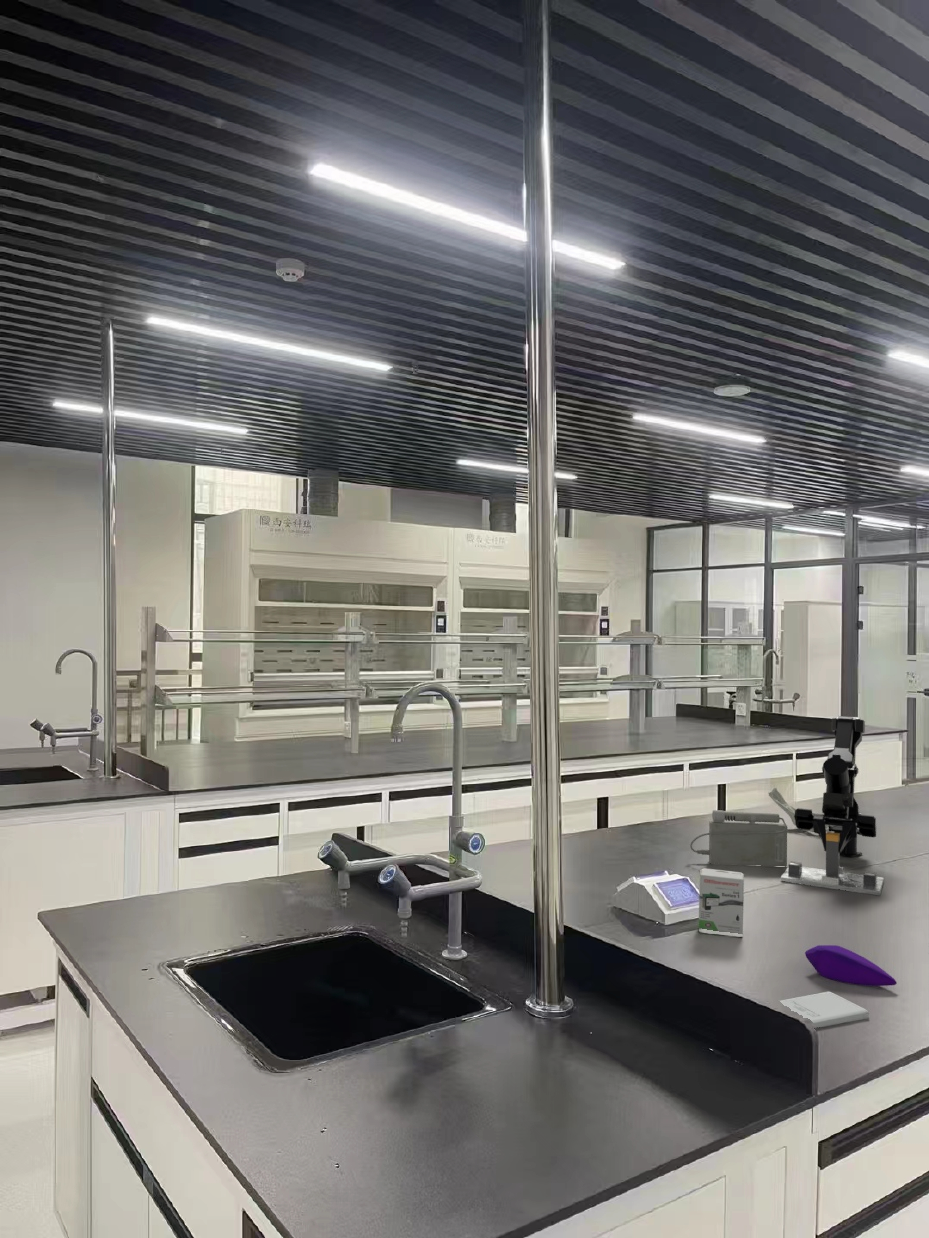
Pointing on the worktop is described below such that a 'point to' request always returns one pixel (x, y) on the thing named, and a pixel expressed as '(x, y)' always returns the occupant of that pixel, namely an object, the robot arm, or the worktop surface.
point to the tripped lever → (832, 854)
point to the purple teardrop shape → (847, 966)
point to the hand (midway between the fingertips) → (832, 850)
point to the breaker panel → (834, 879)
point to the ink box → (721, 900)
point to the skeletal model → (786, 806)
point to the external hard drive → (826, 1009)
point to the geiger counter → (746, 839)
